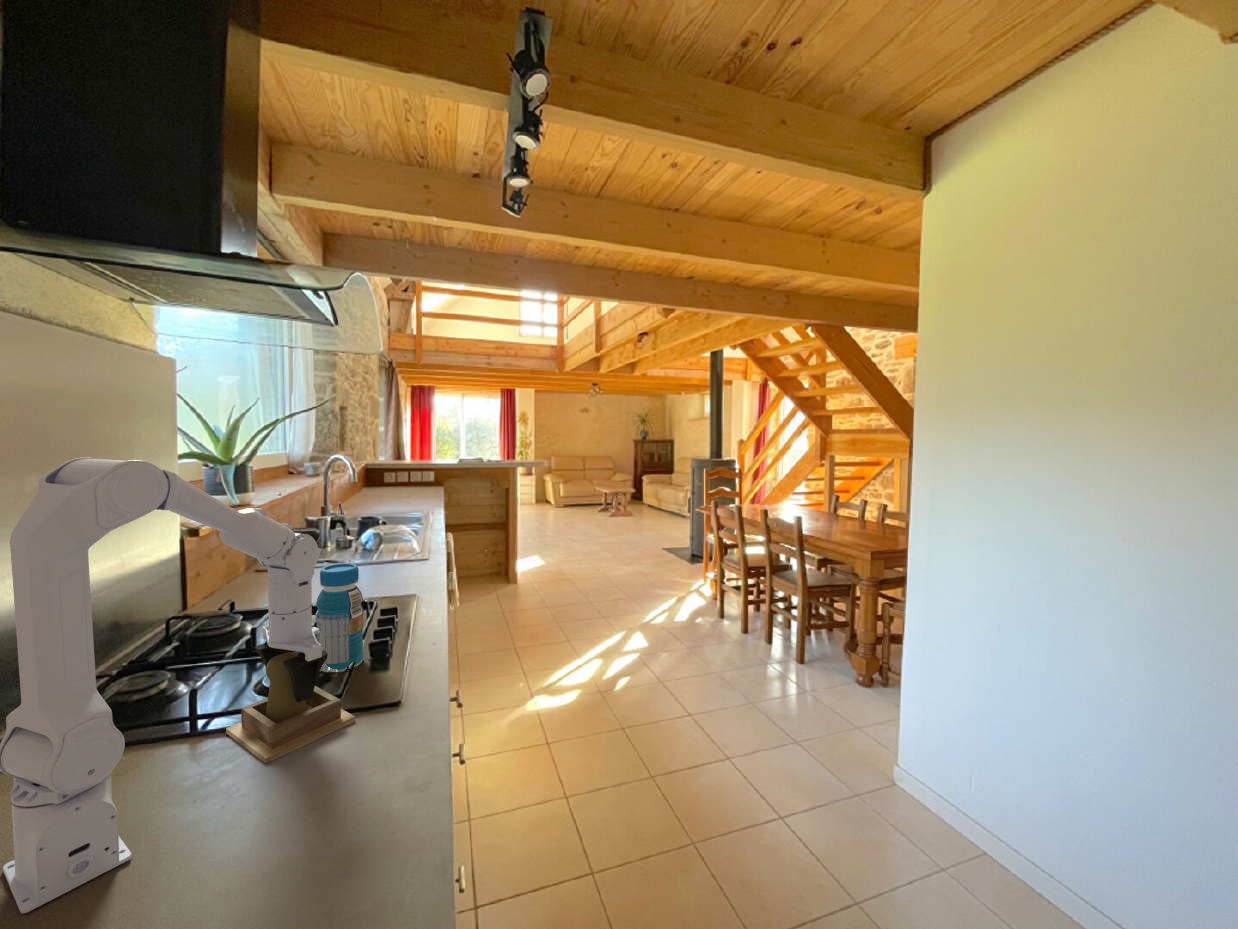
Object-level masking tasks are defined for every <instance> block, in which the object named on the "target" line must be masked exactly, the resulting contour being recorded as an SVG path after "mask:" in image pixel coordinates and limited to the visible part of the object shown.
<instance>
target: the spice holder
mask: <svg viewBox="0 0 1238 929" xmlns="http://www.w3.org/2000/svg"><path fill="white" fill-rule="evenodd" d="M267 701H268V697H267V698H264V699H261V700H259V701H256V702H254V703H251V704H249V705H245V706H243V707H241V708H240V713H241V714H240V716H241V719H240V722H238V723H235V724H233V725H230V726H228V727H226V728H225V734H227V735H228V736H229V737H230V738H232V739H233V740H234V741H236V742H237V743H238V744H240V745H241V746H242V747H243V748H245V749H246V750H247V751H249V752H250V753H251V754H253V756H255V757H256V758H258V759H259V760H260V761H261V762H263V763H264V764H268V763H271V762H272V761H275V760H277V759H279V758H281V757H283V756H285V755H288V754H289V753H292V752H294V751H295V750H298V749H300V748H301V747H304V746H306V745H309V744H310V743H312V742H314V741H317V740H319V739H320V738H323V737H325V736H327V735H329V734H331V733H333V732H336V731H338V730H340V729H342V728H344V727H346V726H348V725H350V724H352V723H355V722H356V716H355V715H353V714H351V713H350V712H348V711H346V710H344V709H343V708H342V707H341V706H342V705H341V704H342V703H341V702H342V701H341V699H340V698H338V697H337V696H334V695H332V694H331V693H329V692H327V691H326V690H323V689H322V688H320V687H318V686H317V685H315V688H314V691H313V695H312V698H309V699H307V700H306V704H307V709H308V711H306V712H303V713H301V714H298V715H296V716H294V717H291V718H289V719H287V720H284V721H282V722H280V723H277V724H276V723H274V722H273V721H271V720H270V719H268V718H267V717H265V715H266V708H267Z"/></svg>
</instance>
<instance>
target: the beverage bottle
mask: <svg viewBox="0 0 1238 929" xmlns="http://www.w3.org/2000/svg"><path fill="white" fill-rule="evenodd" d="M359 571H360V570H359V566H358V565H357V564H355V563H349V562H348V563H336V564H335V563H334V564H331V565H326V566H323V567H322V568H320V572H319V580H320V581H319V584H320V586H321V587H322V589H321V591H320V592H319V594H318V596H317V599H316V602H315V606H316V607H317V611H316V613H315V622H316V628H318V629H319V633H318V634H316V639H317V642H318V643H319V644H321V645H322V650H323V651H325V652H327V653H328V657H327V659H326V661H325V662H324V663H325V664H326V665H327V666H328V667H330V668H332V669H337V670H338V671H339V672H338V673H343V672H346V671H345V670H346V669H347V667H348V666H349V665H350V664H351V663H352V662H355V666H356V667H355V668H357V667H358V666H359V665H361V664H362V662H363V660H364V651H363V646H364V644H363V642H364V639H363V637H364V636H363V629H364V628H363V626H364V625H363V624H364V623H363V622H364V620H363V619H364V618H363V616H364V611H365V610H364V607H363V605H362V602H363V601H364V600H363V598H364V596H363V594H362V592H361V590H360V588H359V587H358V586H357V583H358V582H359V578H360V577H359V576H360V575H359Z"/></svg>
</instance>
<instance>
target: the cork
mask: <svg viewBox="0 0 1238 929" xmlns="http://www.w3.org/2000/svg"><path fill="white" fill-rule="evenodd" d="M294 657H298V652H296V651H293V652H289V653H283V654H280V655H277V656H275V657H273V658H272V659H270V661H269V662H268V664H267V666H266V667H265V673H266V676H267V677H266V678H268V679H270V680H269V689H268V694H267V698H268V701H267V708H266V715H265V717H267V718H268V719H270V720H271V721H273V722H274V723H276V724H277V723H280V722H282V721H284V720H287V719H289V718H291V717H294V716H296V715H298V714H301V713H303V712H306V711H308V709H307V704H306V700H304V701H302V702H300V703H298V702H296V700H295V697H294V692H293V685H292V680H291V677H290V674H289V672H288V670H287V668H286V667H285V665H284V664H283V661H285V660H288V659H291V658H294Z"/></svg>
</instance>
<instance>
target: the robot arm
mask: <svg viewBox="0 0 1238 929" xmlns="http://www.w3.org/2000/svg"><path fill="white" fill-rule="evenodd" d="M37 481H38V482H37V484H38V485H37V493H36V494H35V496H34V497H33V498H32V501H31V502H30V503H29V504H28V507H27V508H26V509H25V511H24V512H23V513H22V516H21V517H20V518H19V520H18V521H17V523H16V525H15V526H14V528H12V531H11V534H10V538H9V548H10V560H11V562H10V563H11V572H12V573H11V574H12V576H11V577H12V586H13V587H12V588H13V589H12V590H13V603H14V604H13V606H14V617H15V618H14V619H15V631H16V644H17V657H18V658H17V662H18V673H19V674H18V675H19V688H20V702H21V703H20V705H19V706H17V707H16V708H15V709H14V710H12V711H11V712H10V713H8V715H7V716H6V718H5V722H6V726H5V727H6V729H5V733H4V736H3V738H2V739H1V741H0V772H2V773H3V774H5V775H7V776H10V777H13V778H12V781H13V785H12V789H11V794H10V801H11V817H12V818H11V820H12V821H11V822H12V837H13V840H12V841H13V842H12V843H13V856H14V857H13V858H14V859H13V860H10V861H8V862H7V863H5V864H4V865H2V872H3V874H4V877H5V879H6V881H7V884H8V887H9V888H10V891H11V894H12V896H13V898H14V900H15V903H16V905H17V907H18V910H19V913H20V914H26V913H29V912H31V911H33V910H35V909H36V908H39V907H41V906H43V905H44V904H47V903H48V902H51V901H53V900H55V899H56V898H58V897H60V896H62V895H64V894H66V893H68V892H70V891H72V890H73V889H75V888H78V887H79V886H81V885H83V884H85V883H88V882H89V881H92V880H93V879H95V878H97V877H99V876H101V875H102V874H104V873H107V872H108V871H112V870H113V869H114V868H117V867H119V866H120V865H122V864H125V863H126V862H127V861H130V860H131V858H132V852H131V850H130V849H129V848H128V846H127V845H126V843H125V842H124V840H123V839H122V837H120V835H119V816H118V814H119V813H118V812H119V811H118V809H117V807H116V805H115V804H114V802H113V795H112V793H113V792H112V772H113V770H115V768H116V766H118V763H119V762H120V761H121V758H122V756H123V754H124V751H125V745H126V744H125V743H126V740H125V737H124V735H123V733H122V732H121V730H119V729H118V728H117V727H116V725H115V723H114V721H113V720H114V719H113V712H112V709H111V707H109V705H108V704H107V702H106V700H105V699H104V698H103V697H102V695H101V694H100V693H99V691H98V689H97V679H96V677H97V676H96V660H95V644H94V627H93V613H92V612H93V610H92V597H91V595H92V594H91V581H90V562H89V561H90V560H89V550H90V548H91V547H92V546H93V545H95V544H96V543H97V542H99V541H100V540H101V539H102V538H104V537H106V535H107V534H109V533H110V532H111V531H114V530H116V529H119V528H120V527H122V526H124V525H127V524H130V523H131V522H134V521H135V520H137V519H138V520H139V519H140V518H142V517H144V516H146V515H148V514H150V513H152V512H154V511H155V510H157V511H169V512H171V513H174V514H176V515H179V516H181V517H184V518H186V519H188V520H190V521H191V520H192V521H193V522H196V523H199V524H201V525H203V526H206V527H209V528H211V529H213V530H215V531H218V532H219V536H220V538H219V539H220V540H221V542H222V543H223V544H224V545H226V546H228V547H230V548H232V549H234V550H237V551H239V552H241V553H242V554H243V553H244V554H246V555H248V556H250V557H253V558H254V559H257V561H258V563H259V564H260V565H261V566H262V567H267V600H268V602H267V603H268V605H267V606H268V608H267V609H268V614H267V615H268V625H265V626H262V628H261V629H262V639H263V640H266V641H264V643H259V644H257V645H256V646H255V647H254V649H255V651H256V653H257V654H258V655H259V656H260V658H261V661H262V662H263V664H264V667H265V668H266V666H267V664H268V662H269V661H270V659H272V658H273V657H275V656H277V655H280V654H283V653H289V652H296V653H298V657H294V658H291V659H288V660H285V661H283V664H284V665H285V667H286V668H287V670H288V672H289V674H290V677H291V680H292V685H293V692H294V697H295V700H296V702H298V703H300V702H302V701H304V700H307V699H309V698H312V695H313V691H314V688H315V686H316V682H317V681H318V677H319V674H320V672H321V671H320V669H321V667H322V665H323V664H324V662H325V661H326V659H327V657H328V653H327V652H325V651H323V650H322V645H321V644H319V643H318V642H317V634H318V633H319V629H318V628H317V626H316V627H315V626H313V615H312V614H313V613H312V612H313V608H312V606H313V603H312V602H313V601H312V600H313V597H312V595H313V594H312V593H313V591H312V586H313V585H312V579H313V578H314V575H315V566H316V564H317V562H318V560H319V559H320V556H321V549H322V548H321V547H318V543H317V542H316V540H315V539H314V537H313V536H311V535H310V534H308V533H301V532H294V530H293V529H292V528H293V526H292V525H290V524H289V523H281V522H278V521H276V520H275V519H273V518H271V517H269V516H268V514H269V511H267V510H265V509H263V508H259V507H258V508H243V509H240V510H236V509H234V508H233V507H231V506H229V505H228V504H227V503H224V502H223V501H221V500H220V499H217V498H215V496H212V495H210V494H209V493H207V492H206V491H204V490H202V489H201V488H199V487H197V486H195V485H194V484H192V483H191V482H188V481H187V480H185V479H183V478H182V477H180V475H178V474H177V473H176V472H173V471H169V470H166V469H161V468H160V467H158V465H156V464H154V463H152V462H150V461H146V460H141V459H129V460H120V459H119V460H118V459H117V460H116V459H102V458H97V457H89V456H82V457H76V458H72V459H69V460H67V461H64V462H63V463H62V464H59V465H57V466H56V467H55V468H53V469H52V470H50V471H48V472H47V473H45V474H44V475H42V476H40V477H39V478H38V479H37ZM268 679H269V678H268ZM269 681H270V679H269Z"/></svg>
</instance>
